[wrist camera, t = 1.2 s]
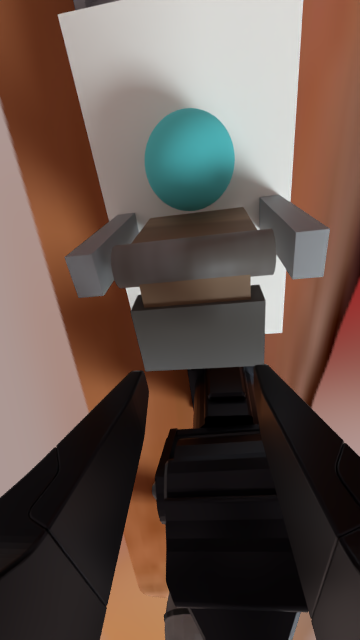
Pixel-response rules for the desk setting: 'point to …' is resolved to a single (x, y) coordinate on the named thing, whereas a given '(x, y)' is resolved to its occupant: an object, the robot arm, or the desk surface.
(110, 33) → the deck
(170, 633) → the beverage cup
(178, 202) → the ball
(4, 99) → the desk surface
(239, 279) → the lever
